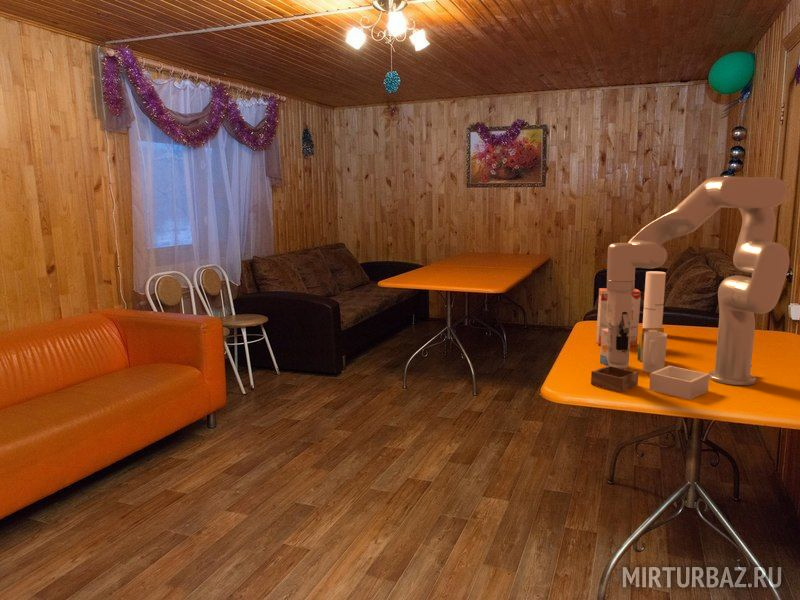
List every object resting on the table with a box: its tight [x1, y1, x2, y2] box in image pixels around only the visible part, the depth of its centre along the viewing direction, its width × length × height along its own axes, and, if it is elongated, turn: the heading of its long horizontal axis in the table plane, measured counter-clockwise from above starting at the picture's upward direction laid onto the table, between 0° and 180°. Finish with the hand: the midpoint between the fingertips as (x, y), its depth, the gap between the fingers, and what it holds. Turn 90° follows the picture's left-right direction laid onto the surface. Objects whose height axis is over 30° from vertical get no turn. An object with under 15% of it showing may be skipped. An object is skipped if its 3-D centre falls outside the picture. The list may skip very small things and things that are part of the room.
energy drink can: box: [607, 318, 631, 366], centre depth 179 cm, size 6×6×15 cm
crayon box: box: [637, 327, 665, 363], centre depth 206 cm, size 7×3×12 cm, turn 89°
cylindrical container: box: [641, 270, 667, 332], centre depth 242 cm, size 7×7×25 cm
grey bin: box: [648, 365, 710, 401], centre depth 175 cm, size 12×12×5 cm
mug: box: [642, 332, 668, 373], centre depth 193 cm, size 10×7×12 cm, turn 146°
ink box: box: [599, 325, 631, 369], centre depth 200 cm, size 8×5×15 cm, turn 25°
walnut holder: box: [590, 365, 639, 393], centre depth 181 cm, size 10×10×4 cm
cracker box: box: [595, 287, 642, 348], centre depth 227 cm, size 14×6×21 cm, turn 81°
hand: (618, 346), depth 179 cm, fingers closed on energy drink can, 6 cm apart
